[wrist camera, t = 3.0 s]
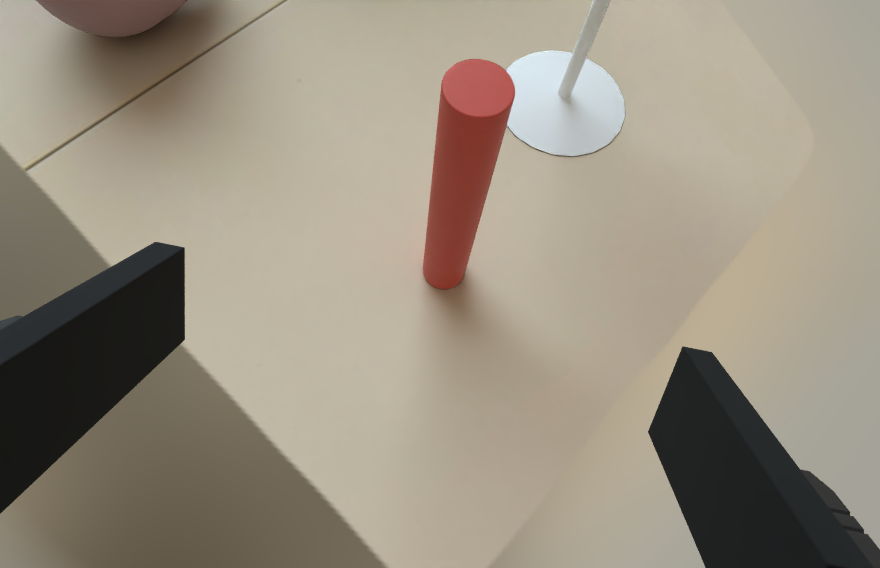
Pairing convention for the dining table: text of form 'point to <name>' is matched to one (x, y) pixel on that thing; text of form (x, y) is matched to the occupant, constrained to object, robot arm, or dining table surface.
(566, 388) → the dining table surface
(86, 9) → the figurine
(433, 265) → the red round dowel
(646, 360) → the dining table surface
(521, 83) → the wineglass
